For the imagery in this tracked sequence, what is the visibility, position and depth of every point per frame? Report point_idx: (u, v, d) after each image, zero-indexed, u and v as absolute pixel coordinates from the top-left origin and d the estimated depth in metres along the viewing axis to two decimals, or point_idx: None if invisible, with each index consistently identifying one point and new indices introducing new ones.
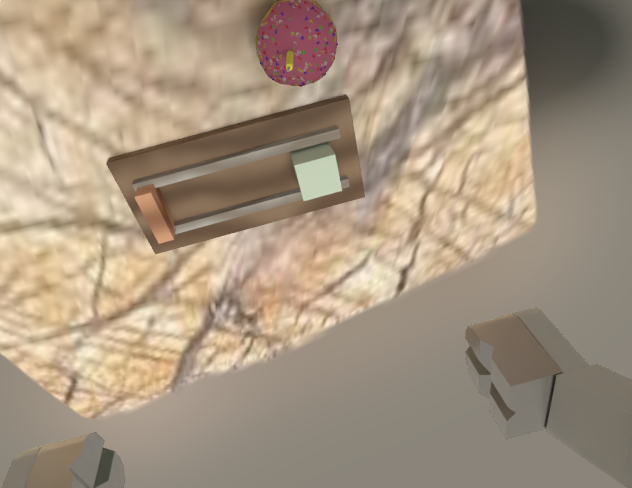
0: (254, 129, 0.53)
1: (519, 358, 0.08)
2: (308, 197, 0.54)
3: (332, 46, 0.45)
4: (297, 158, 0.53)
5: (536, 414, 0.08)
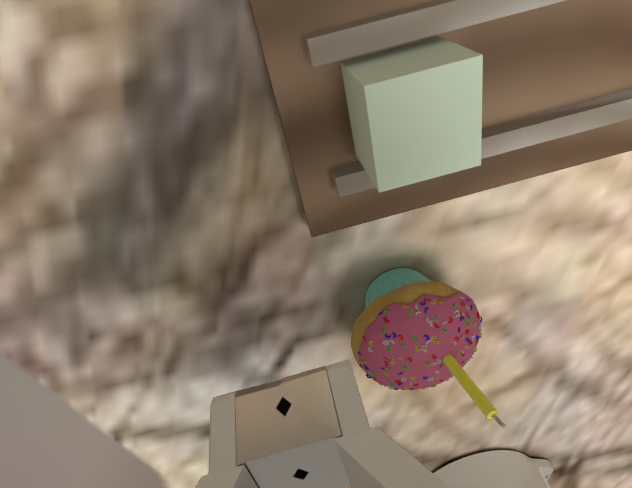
0: (499, 176, 0.27)
1: (309, 418, 0.08)
2: (465, 66, 0.18)
3: (370, 359, 0.27)
4: None
5: (333, 472, 0.08)
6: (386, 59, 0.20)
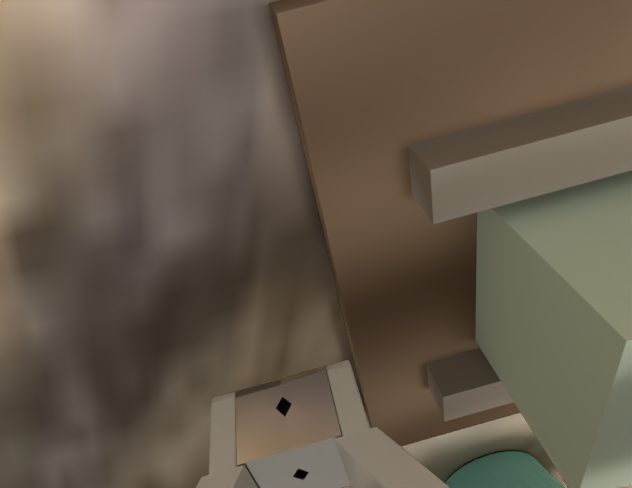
0: None
1: (309, 418, 0.08)
2: None
3: None
4: None
5: (333, 472, 0.08)
6: (605, 207, 0.09)
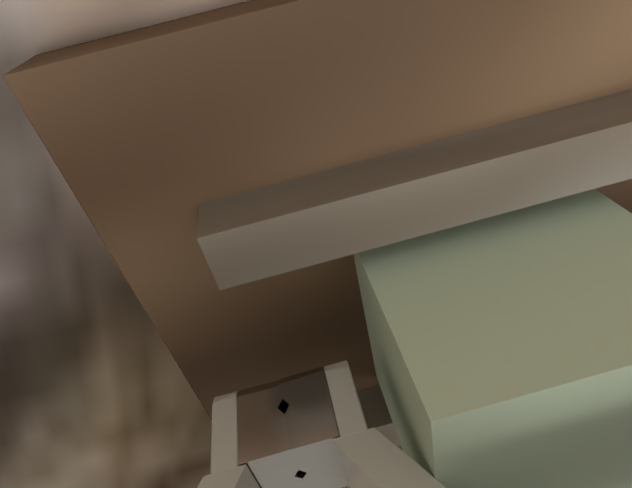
0: None
1: (307, 418, 0.08)
2: None
3: None
4: None
5: (331, 473, 0.08)
6: (465, 255, 0.08)
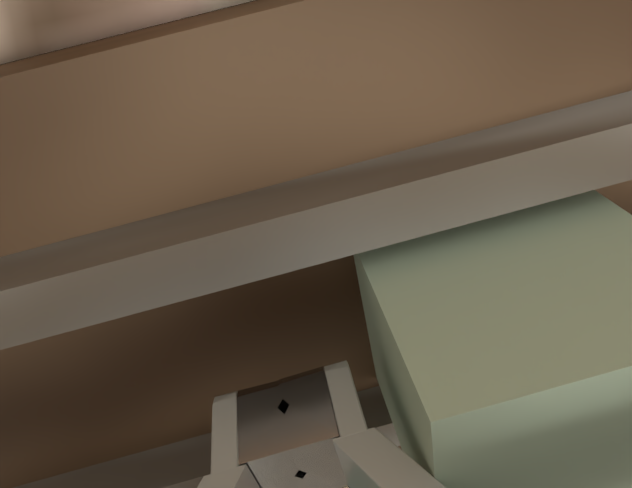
0: None
1: (307, 418, 0.08)
2: None
3: None
4: None
5: (331, 473, 0.08)
6: (465, 255, 0.08)
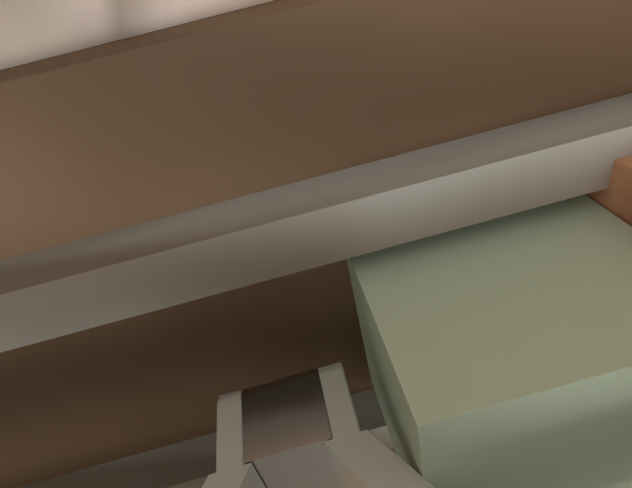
0: None
1: (300, 420, 0.08)
2: None
3: None
4: None
5: (325, 475, 0.08)
6: (456, 260, 0.08)
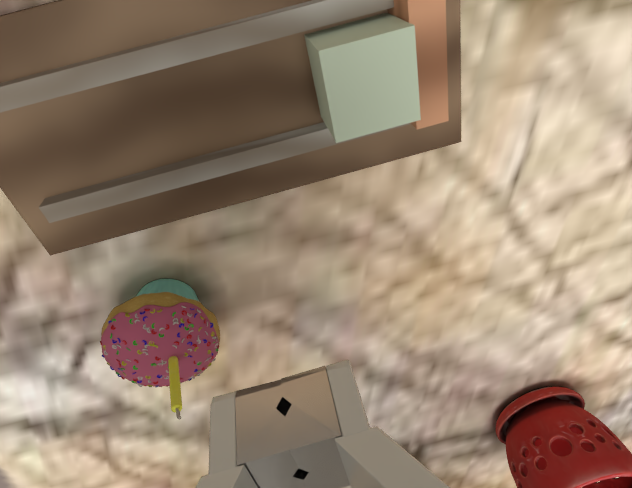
0: (213, 201, 0.30)
1: (309, 418, 0.08)
2: (401, 35, 0.22)
3: (109, 361, 0.31)
4: None
5: (333, 472, 0.08)
6: (340, 31, 0.24)
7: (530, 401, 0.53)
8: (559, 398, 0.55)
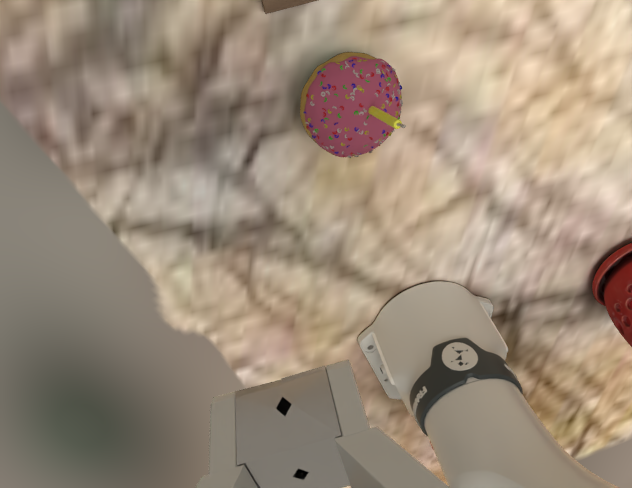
0: None
1: (309, 418, 0.08)
2: None
3: (312, 114, 0.35)
4: None
5: (333, 472, 0.08)
6: None
7: None
8: None
